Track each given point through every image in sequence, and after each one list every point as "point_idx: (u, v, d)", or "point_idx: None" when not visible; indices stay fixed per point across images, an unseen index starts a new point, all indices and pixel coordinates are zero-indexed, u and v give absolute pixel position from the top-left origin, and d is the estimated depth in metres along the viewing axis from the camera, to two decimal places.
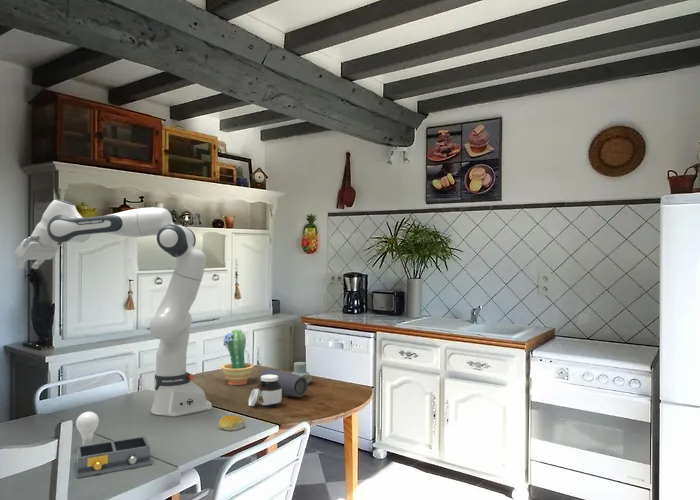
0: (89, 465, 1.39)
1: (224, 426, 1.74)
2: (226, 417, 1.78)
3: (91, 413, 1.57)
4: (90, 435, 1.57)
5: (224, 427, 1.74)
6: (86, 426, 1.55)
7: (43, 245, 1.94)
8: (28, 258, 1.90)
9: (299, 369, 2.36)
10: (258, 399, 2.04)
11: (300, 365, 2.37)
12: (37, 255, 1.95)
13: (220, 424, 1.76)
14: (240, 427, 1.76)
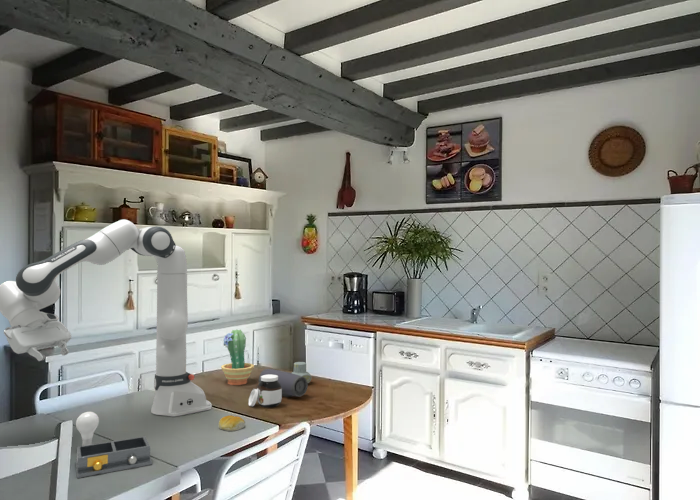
0: (89, 465, 1.39)
1: (224, 426, 1.74)
2: (226, 417, 1.78)
3: (91, 413, 1.57)
4: (90, 435, 1.57)
5: (224, 427, 1.74)
6: (86, 426, 1.55)
7: (32, 326, 1.60)
8: (32, 343, 1.55)
9: (299, 369, 2.36)
10: (258, 399, 2.04)
11: (300, 365, 2.37)
12: (42, 338, 1.60)
13: (220, 424, 1.75)
14: (240, 427, 1.76)
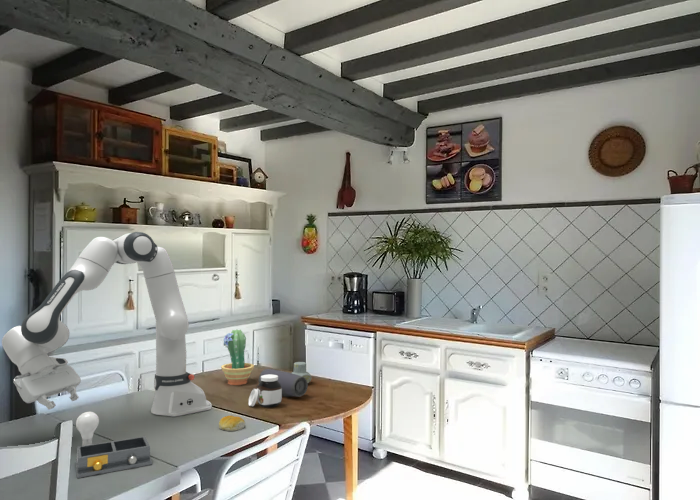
0: (89, 465, 1.39)
1: (224, 426, 1.74)
2: (226, 417, 1.78)
3: (91, 413, 1.57)
4: (90, 435, 1.57)
5: (224, 427, 1.74)
6: (86, 426, 1.55)
7: (42, 373, 1.59)
8: (42, 391, 1.54)
9: (299, 369, 2.36)
10: (258, 399, 2.04)
11: (300, 365, 2.37)
12: (52, 385, 1.59)
13: (220, 424, 1.75)
14: (240, 427, 1.76)
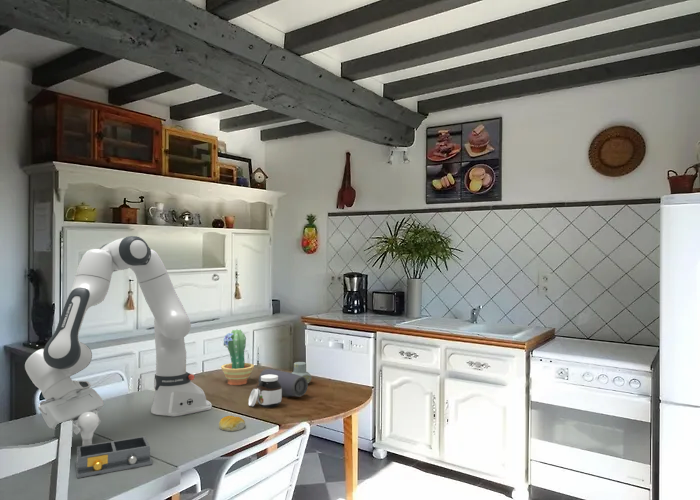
0: (89, 465, 1.39)
1: (224, 426, 1.74)
2: (226, 417, 1.78)
3: (91, 413, 1.57)
4: (90, 435, 1.57)
5: (224, 427, 1.74)
6: (86, 426, 1.55)
7: (66, 397, 1.57)
8: (67, 417, 1.52)
9: (299, 369, 2.36)
10: (258, 399, 2.04)
11: (300, 365, 2.37)
12: (76, 409, 1.57)
13: (220, 424, 1.75)
14: (240, 427, 1.76)
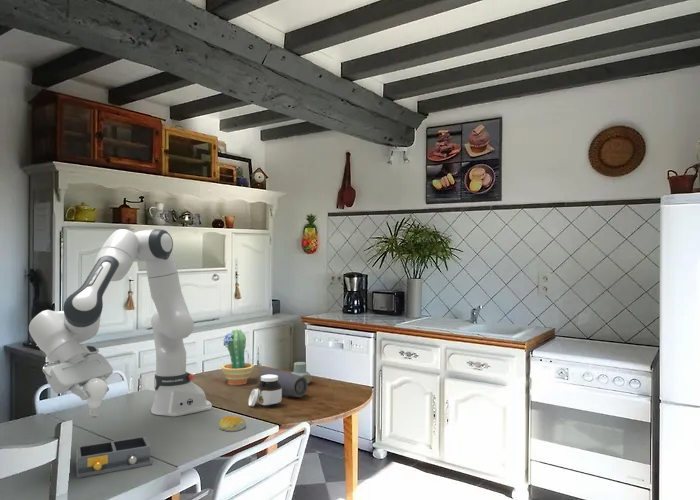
0: (89, 465, 1.39)
1: (225, 427, 1.74)
2: (226, 417, 1.78)
3: (99, 379, 1.45)
4: (98, 403, 1.44)
5: (225, 428, 1.74)
6: (93, 393, 1.42)
7: (73, 361, 1.45)
8: (73, 381, 1.40)
9: (299, 369, 2.36)
10: (258, 399, 2.04)
11: (300, 365, 2.37)
12: (84, 374, 1.45)
13: (221, 425, 1.75)
14: (241, 428, 1.75)
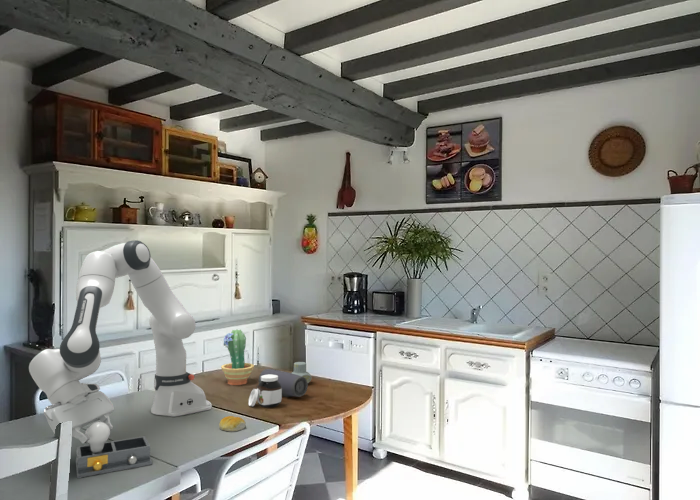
0: (89, 465, 1.39)
1: (225, 427, 1.74)
2: (227, 417, 1.78)
3: (102, 423, 1.45)
4: (100, 448, 1.44)
5: (225, 428, 1.73)
6: (96, 438, 1.42)
7: (74, 402, 1.44)
8: (75, 423, 1.39)
9: (299, 369, 2.36)
10: (258, 399, 2.04)
11: (300, 365, 2.37)
12: (85, 415, 1.44)
13: (221, 425, 1.75)
14: (241, 428, 1.75)
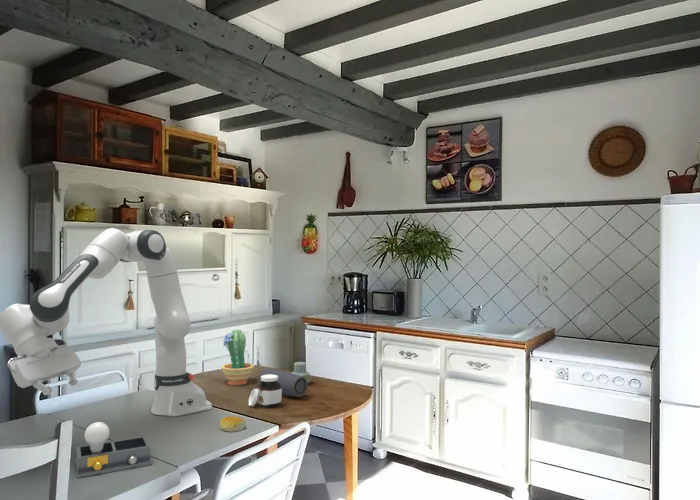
0: (89, 465, 1.39)
1: (225, 427, 1.73)
2: (227, 418, 1.77)
3: (101, 424, 1.44)
4: (100, 448, 1.44)
5: (225, 428, 1.73)
6: (96, 439, 1.42)
7: (39, 355, 1.49)
8: (38, 376, 1.44)
9: (299, 369, 2.36)
10: (258, 399, 2.04)
11: (300, 365, 2.37)
12: (49, 368, 1.49)
13: (221, 425, 1.75)
14: (241, 428, 1.75)
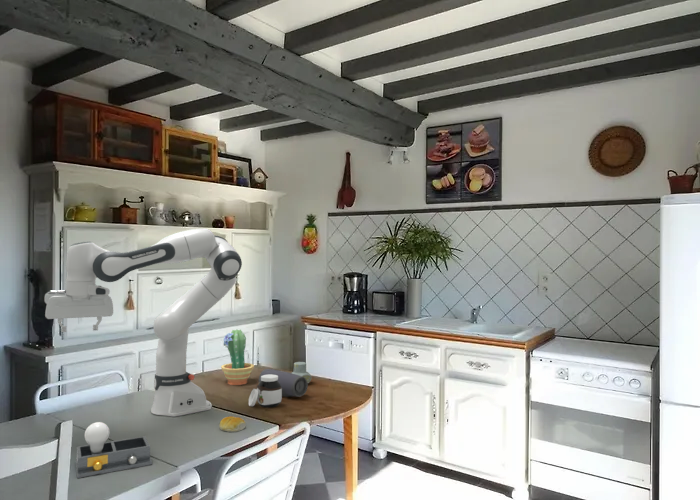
0: (89, 465, 1.39)
1: (225, 427, 1.73)
2: (227, 418, 1.77)
3: (101, 424, 1.44)
4: (100, 448, 1.44)
5: (225, 428, 1.73)
6: (96, 439, 1.42)
7: (73, 298, 1.68)
8: (59, 316, 1.66)
9: (299, 369, 2.36)
10: (258, 399, 2.04)
11: (300, 365, 2.37)
12: (75, 312, 1.69)
13: (221, 425, 1.74)
14: (241, 428, 1.75)
